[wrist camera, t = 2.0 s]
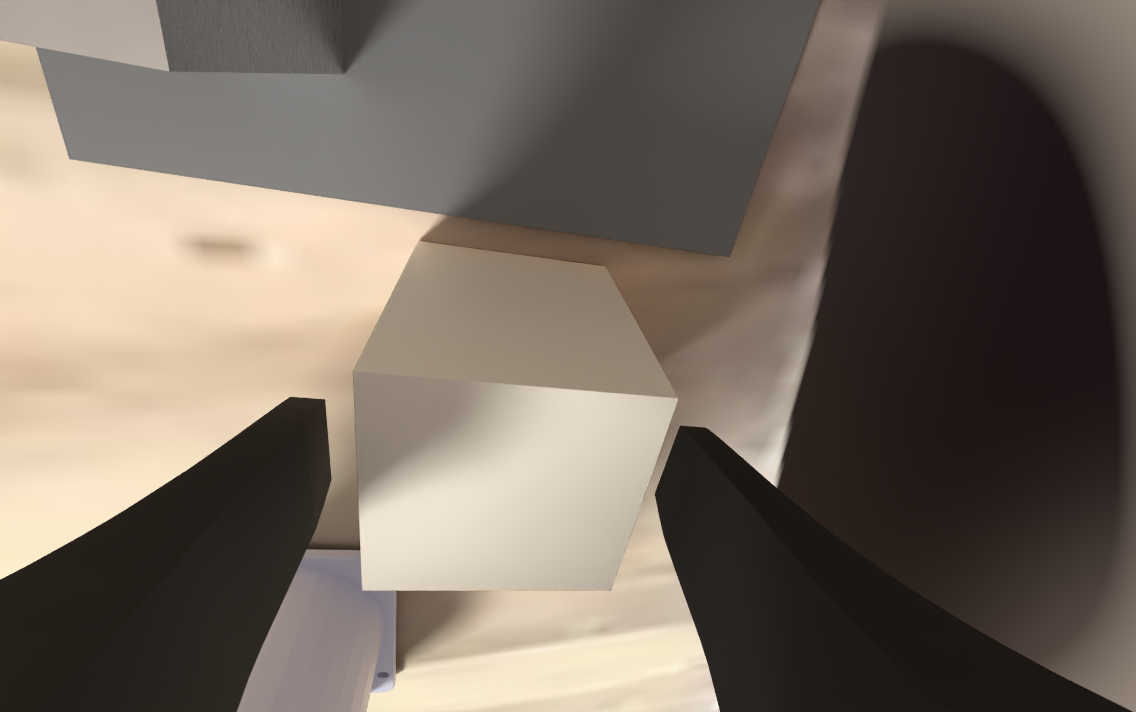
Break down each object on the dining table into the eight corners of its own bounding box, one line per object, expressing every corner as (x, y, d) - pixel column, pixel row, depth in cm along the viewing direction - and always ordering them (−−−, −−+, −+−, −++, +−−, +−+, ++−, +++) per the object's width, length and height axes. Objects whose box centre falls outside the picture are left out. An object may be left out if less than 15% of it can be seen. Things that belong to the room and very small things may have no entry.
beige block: (572, 411, 16) (610, 590, 11) (413, 399, 15) (362, 590, 10) (605, 266, 14) (678, 398, 8) (418, 240, 13) (352, 370, 7)
